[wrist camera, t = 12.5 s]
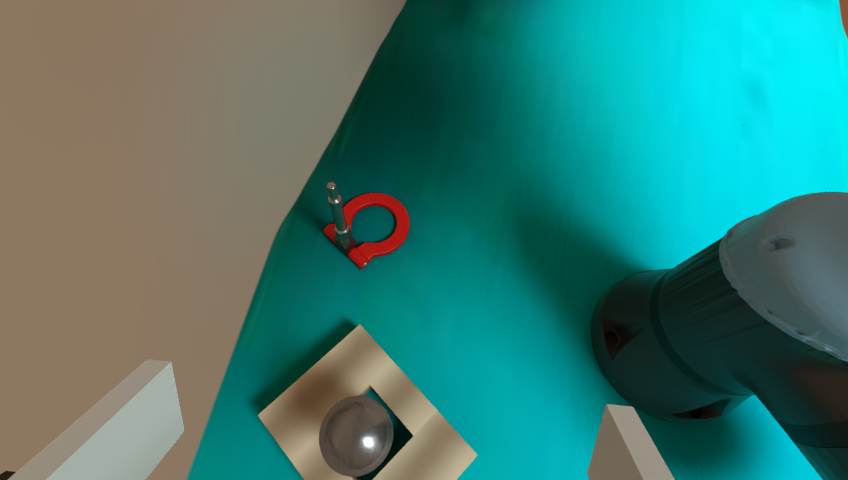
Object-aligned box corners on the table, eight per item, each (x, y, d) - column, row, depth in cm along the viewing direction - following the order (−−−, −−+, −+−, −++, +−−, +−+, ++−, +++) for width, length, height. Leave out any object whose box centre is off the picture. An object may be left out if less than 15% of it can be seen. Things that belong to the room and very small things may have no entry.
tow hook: (376, 186, 51) (319, 230, 48) (370, 111, 40) (294, 162, 36) (423, 228, 49) (366, 277, 45) (431, 160, 37) (355, 220, 34)
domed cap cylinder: (409, 434, 38) (407, 435, 28) (368, 478, 37) (350, 495, 27) (374, 392, 40) (360, 380, 30) (332, 432, 38) (303, 433, 28)
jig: (473, 453, 38) (477, 455, 35) (377, 564, 34) (373, 575, 31) (363, 331, 43) (359, 324, 40) (268, 416, 39) (257, 415, 36)
